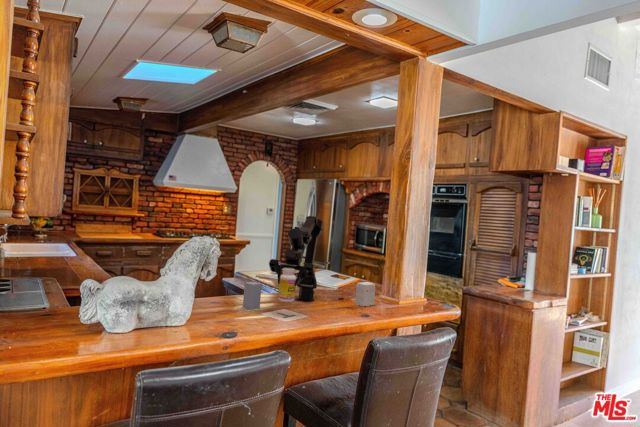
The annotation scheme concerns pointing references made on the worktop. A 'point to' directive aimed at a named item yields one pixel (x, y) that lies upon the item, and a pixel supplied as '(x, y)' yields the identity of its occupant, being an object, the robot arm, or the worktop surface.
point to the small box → (365, 294)
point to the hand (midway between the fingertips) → (286, 284)
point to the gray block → (252, 295)
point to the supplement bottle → (287, 285)
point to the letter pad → (284, 315)
